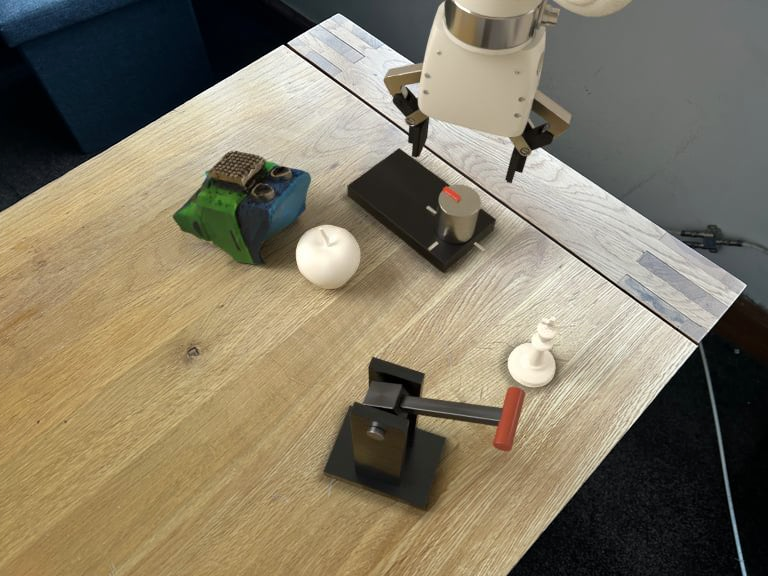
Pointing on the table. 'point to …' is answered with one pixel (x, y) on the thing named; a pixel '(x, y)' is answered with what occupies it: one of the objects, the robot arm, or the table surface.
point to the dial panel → (413, 207)
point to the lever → (451, 409)
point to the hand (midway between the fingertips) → (464, 160)
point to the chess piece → (535, 356)
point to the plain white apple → (328, 256)
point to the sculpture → (244, 204)
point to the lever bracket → (387, 445)
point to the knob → (457, 214)
